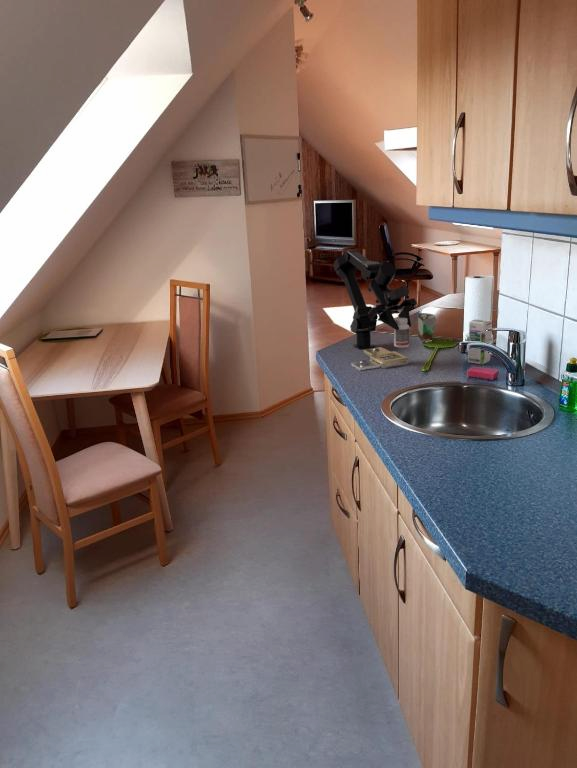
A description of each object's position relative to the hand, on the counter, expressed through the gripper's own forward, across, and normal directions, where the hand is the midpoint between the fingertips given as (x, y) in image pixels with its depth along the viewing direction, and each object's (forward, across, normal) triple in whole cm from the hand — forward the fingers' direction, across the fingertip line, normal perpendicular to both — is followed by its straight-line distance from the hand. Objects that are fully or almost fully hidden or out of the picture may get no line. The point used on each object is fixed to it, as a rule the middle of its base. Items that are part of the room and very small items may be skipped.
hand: (404, 328), depth 213 cm
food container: (-2, +27, +20) cm, 34 cm away
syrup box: (+22, +18, -4) cm, 28 cm away
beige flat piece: (+3, -7, +14) cm, 17 cm away
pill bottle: (+4, 0, +6) cm, 7 cm away
